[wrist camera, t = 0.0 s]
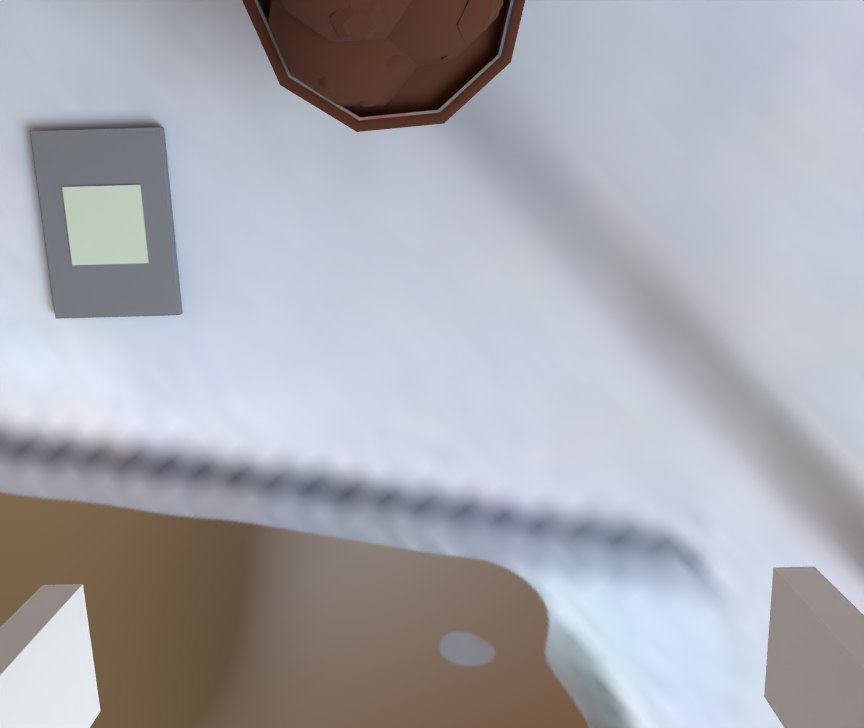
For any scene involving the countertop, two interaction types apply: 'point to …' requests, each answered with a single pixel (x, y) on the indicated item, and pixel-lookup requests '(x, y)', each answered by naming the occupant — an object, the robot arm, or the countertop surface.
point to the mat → (107, 222)
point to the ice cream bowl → (386, 54)
